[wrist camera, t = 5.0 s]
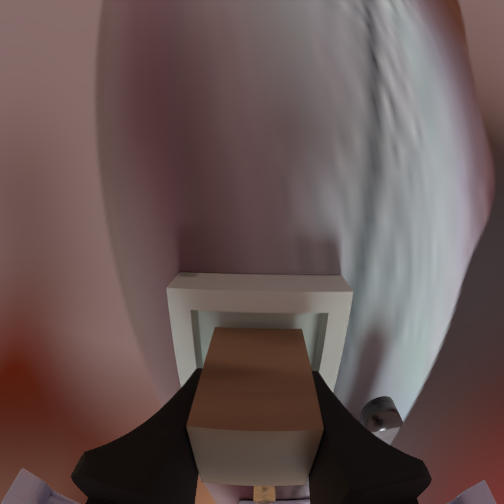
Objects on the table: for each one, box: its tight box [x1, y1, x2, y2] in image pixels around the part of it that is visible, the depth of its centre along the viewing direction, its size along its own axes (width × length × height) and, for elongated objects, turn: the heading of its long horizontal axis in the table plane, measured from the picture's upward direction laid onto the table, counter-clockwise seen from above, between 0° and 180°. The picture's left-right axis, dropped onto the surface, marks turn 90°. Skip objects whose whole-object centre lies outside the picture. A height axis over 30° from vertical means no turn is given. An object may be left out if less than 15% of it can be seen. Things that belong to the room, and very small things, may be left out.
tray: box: [167, 272, 353, 392], centre depth 14 cm, size 8×8×2 cm
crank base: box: [253, 486, 276, 504], centre depth 15 cm, size 6×10×4 cm, turn 89°
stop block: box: [186, 327, 324, 486], centre depth 10 cm, size 4×4×6 cm
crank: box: [359, 396, 403, 445], centre depth 14 cm, size 9×3×3 cm, turn 179°
